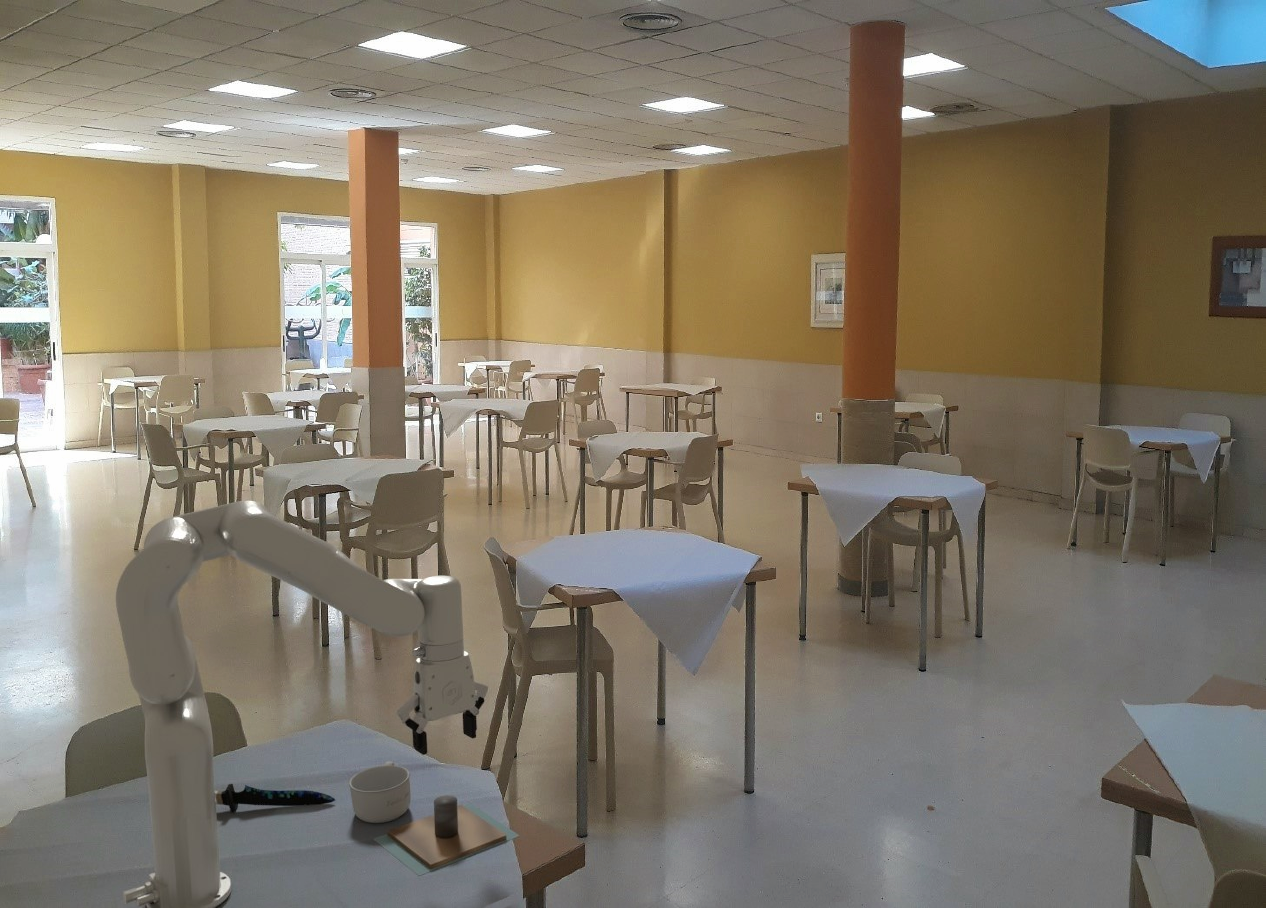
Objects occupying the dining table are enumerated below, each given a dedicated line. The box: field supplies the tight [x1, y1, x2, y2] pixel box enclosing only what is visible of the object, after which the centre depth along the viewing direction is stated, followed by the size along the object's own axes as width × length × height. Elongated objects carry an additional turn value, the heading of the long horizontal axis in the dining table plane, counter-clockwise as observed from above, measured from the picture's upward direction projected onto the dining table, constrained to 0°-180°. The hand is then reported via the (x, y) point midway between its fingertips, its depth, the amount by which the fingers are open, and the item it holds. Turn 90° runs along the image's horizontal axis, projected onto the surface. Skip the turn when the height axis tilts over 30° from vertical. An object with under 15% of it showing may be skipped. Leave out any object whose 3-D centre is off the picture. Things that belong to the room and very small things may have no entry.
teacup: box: [348, 761, 412, 824], centre depth 198 cm, size 14×11×8 cm
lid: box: [386, 795, 506, 869], centre depth 187 cm, size 15×15×7 cm
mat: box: [372, 803, 521, 877], centre depth 188 cm, size 20×16×1 cm
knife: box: [215, 783, 336, 814], centre depth 200 cm, size 31×3×4 cm, turn 94°
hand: (445, 743), depth 185 cm, fingers open, 9 cm apart
